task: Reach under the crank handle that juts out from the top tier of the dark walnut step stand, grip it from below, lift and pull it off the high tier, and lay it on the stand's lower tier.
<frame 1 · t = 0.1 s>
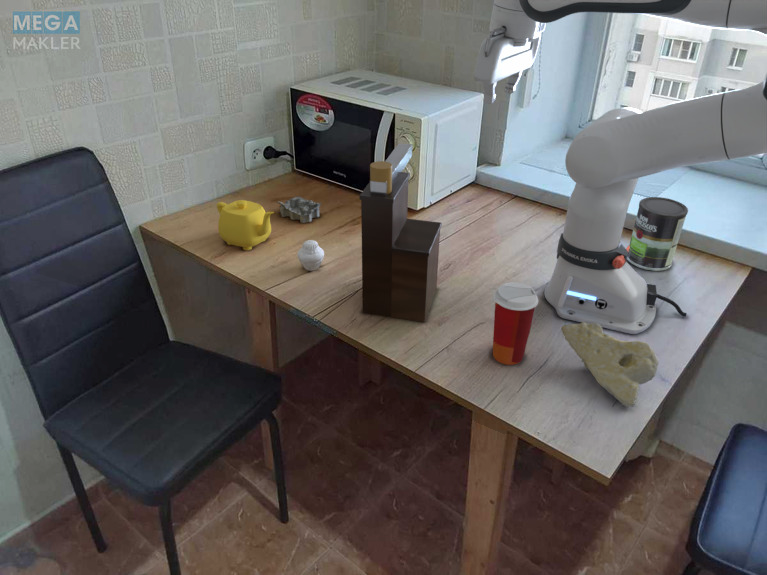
hand: (499, 97, 121), 39 cm above the table, tool pointing down, fingers open, 8 cm apart
step stand: (398, 300, 129), on the table
egg carton: (300, 215, 165), on the table
paper cup: (507, 356, 114), on the table
teapot: (248, 242, 152), on the table
crank handle: (385, 183, 116), point 26 cm above the table, touching step stand
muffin: (311, 268, 141), on the table
cheese: (597, 380, 108), on the table
coffee can: (648, 261, 145), on the table
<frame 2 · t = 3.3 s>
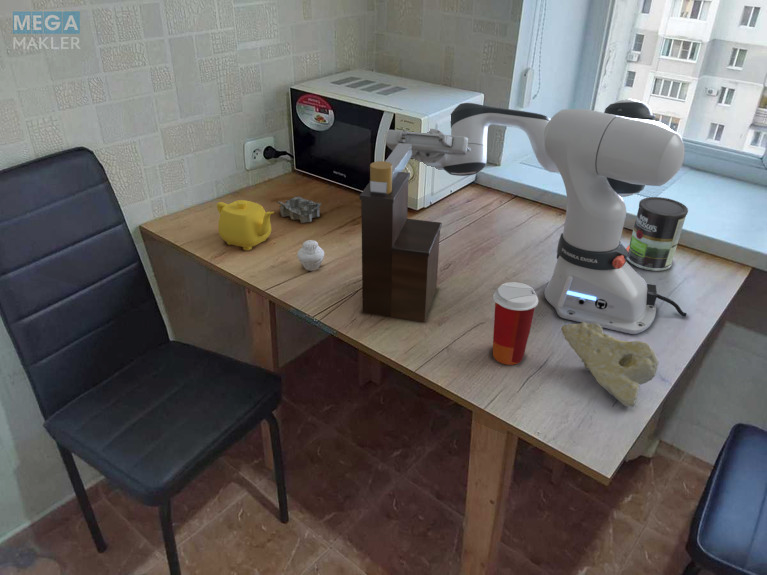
hand: (422, 136, 143), 25 cm above the table, tool pointing upward, fingers open, 8 cm apart
nothing on the table moved.
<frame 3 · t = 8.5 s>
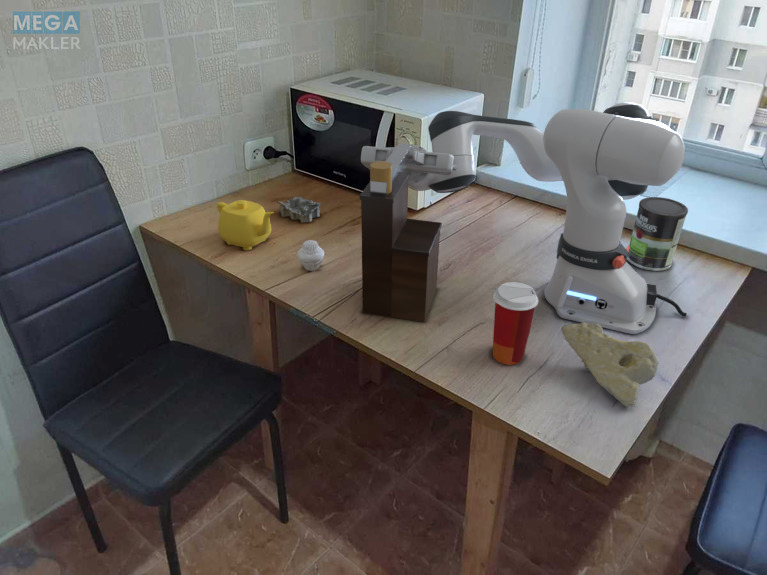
hand: (401, 153, 126), 28 cm above the table, tool pointing upward, fingers closed on crank handle, 3 cm apart
crank handle: (385, 183, 116), point 26 cm above the table, touching gripper, step stand
everything else where it was.
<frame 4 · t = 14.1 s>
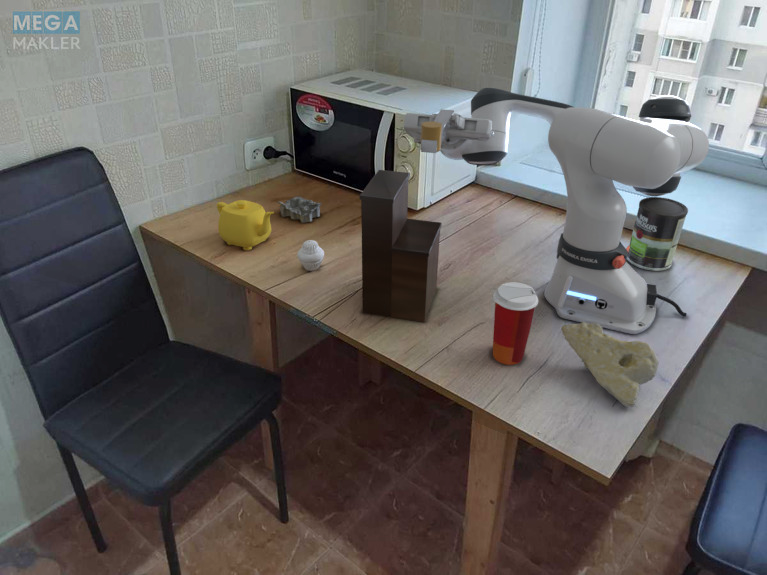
hand: (444, 118, 134), 32 cm above the table, tool pointing upward, fingers closed on crank handle, 3 cm apart
crank handle: (433, 143, 124), point 30 cm above the table, touching gripper
everything else where it was.
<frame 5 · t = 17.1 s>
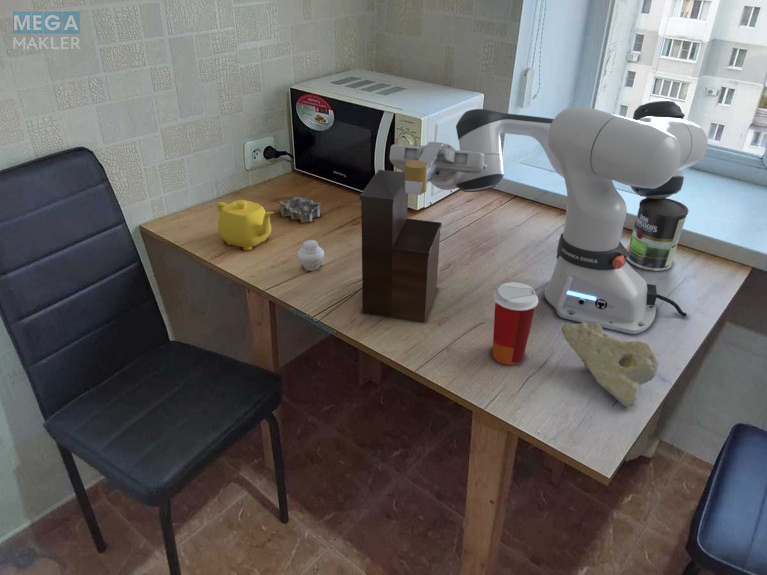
hand: (432, 151, 124), 29 cm above the table, tool pointing upward, fingers closed on crank handle, 3 cm apart
crank handle: (419, 182, 115), point 27 cm above the table, touching gripper
coffee can: (648, 261, 145), on the table, touching arm
everything else where it was.
when the fingers open (18 cm above the table, at t = 19.9 s): crank handle stays where it is, resting on step stand.
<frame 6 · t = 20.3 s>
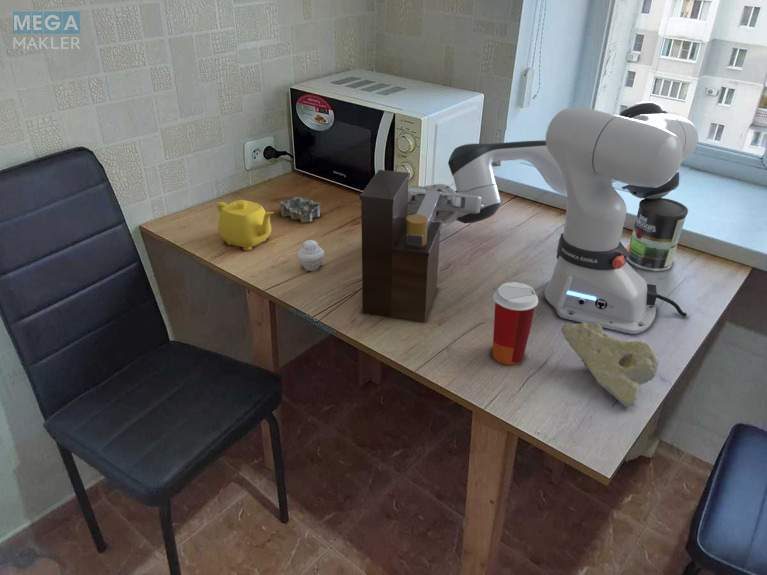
hand: (431, 198, 130), 18 cm above the table, tool pointing upward, fingers open, 7 cm apart
crank handle: (419, 234, 120), point 16 cm above the table, touching step stand
everything else where it was.
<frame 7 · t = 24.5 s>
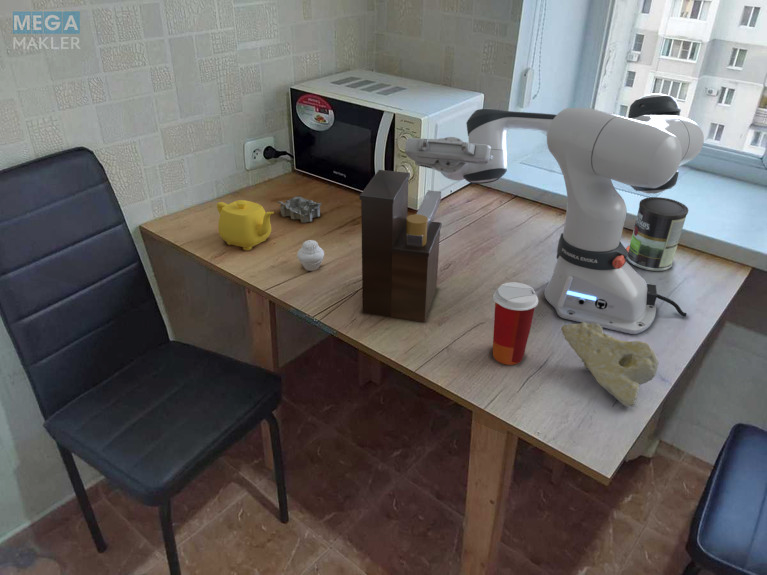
hand: (444, 144, 139), 25 cm above the table, tool pointing upward, fingers open, 8 cm apart
coffee can: (649, 261, 145), on the table
everything else where it was.
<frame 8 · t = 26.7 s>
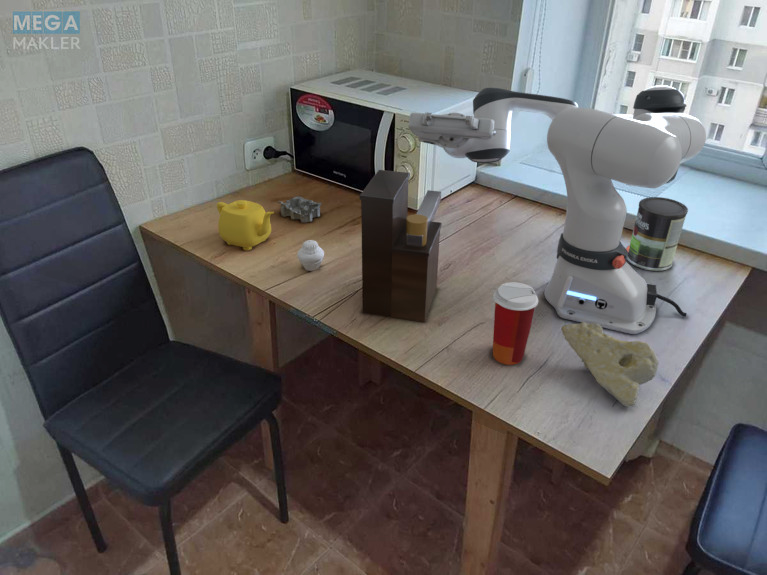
hand: (448, 117, 138), 30 cm above the table, tool pointing upward, fingers open, 8 cm apart
nothing on the table moved.
at the end: crank handle inside the target area on the step stand (1.0 cm from its centre), point 16.0 cm above the step stand's base; crank handle tilted 0°; the gripper is holding nothing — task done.
